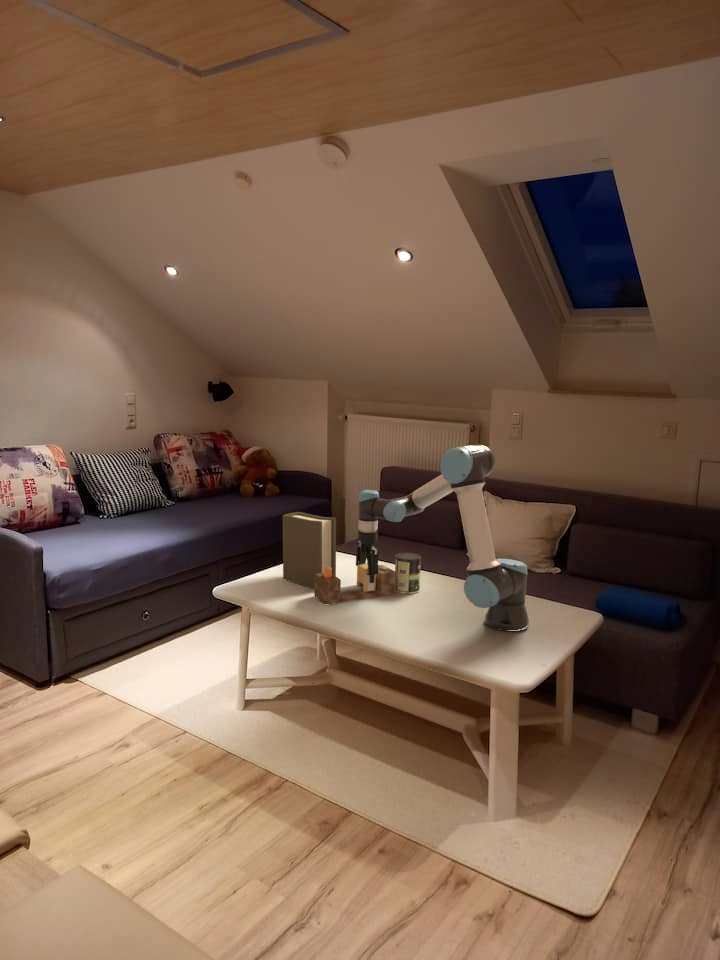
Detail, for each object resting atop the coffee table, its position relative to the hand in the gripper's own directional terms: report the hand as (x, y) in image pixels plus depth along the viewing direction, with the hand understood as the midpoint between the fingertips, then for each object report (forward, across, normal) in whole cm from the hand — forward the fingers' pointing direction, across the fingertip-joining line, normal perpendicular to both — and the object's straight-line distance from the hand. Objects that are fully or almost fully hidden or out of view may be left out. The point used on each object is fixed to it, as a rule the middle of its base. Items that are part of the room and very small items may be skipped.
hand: (366, 587), depth 277 cm
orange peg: (-4, 0, +17) cm, 17 cm away
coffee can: (+3, -3, -17) cm, 18 cm away
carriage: (+1, 0, 0) cm, 1 cm away
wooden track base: (+2, 0, +5) cm, 5 cm away
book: (+3, +21, +15) cm, 26 cm away
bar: (+1, 0, +5) cm, 5 cm away
